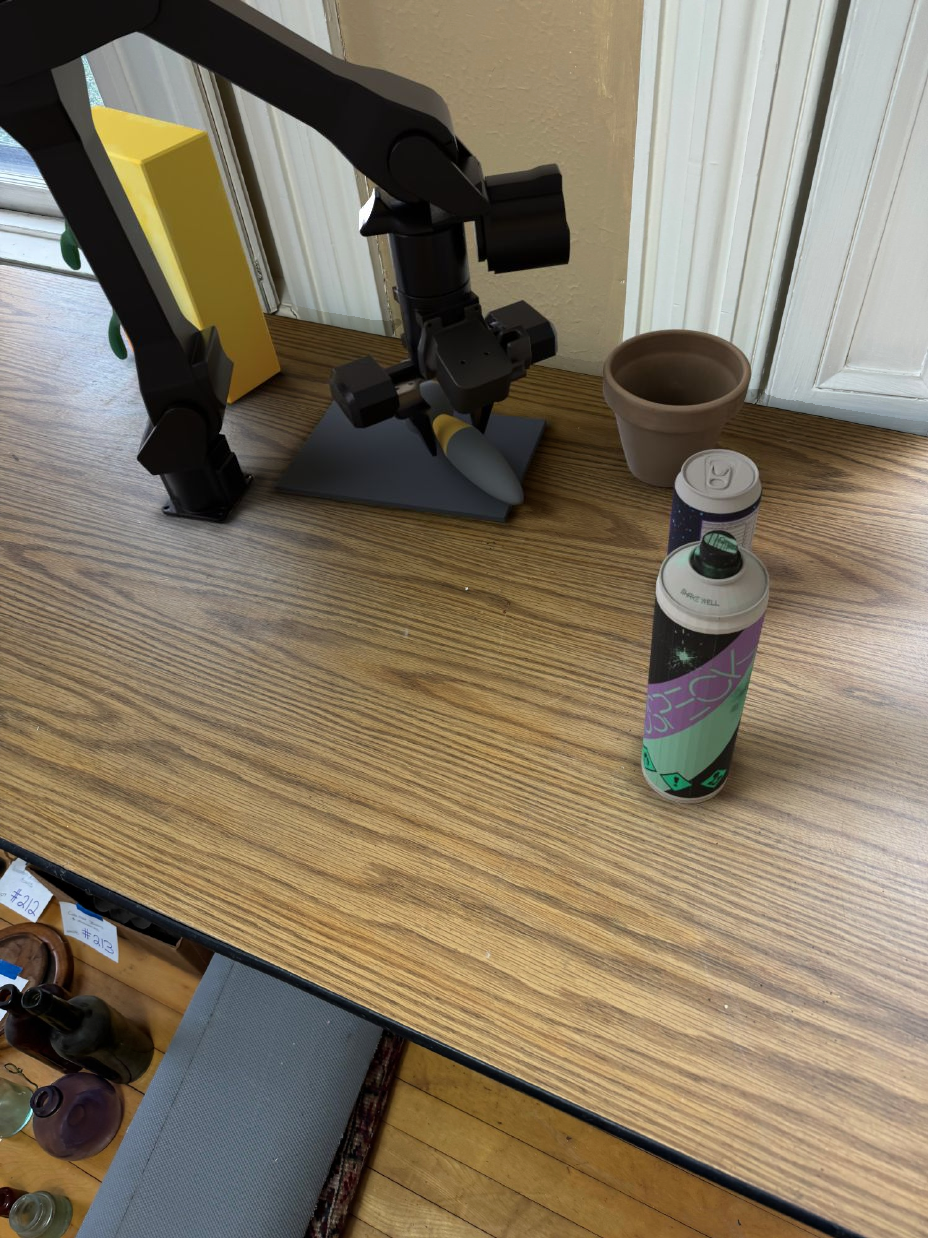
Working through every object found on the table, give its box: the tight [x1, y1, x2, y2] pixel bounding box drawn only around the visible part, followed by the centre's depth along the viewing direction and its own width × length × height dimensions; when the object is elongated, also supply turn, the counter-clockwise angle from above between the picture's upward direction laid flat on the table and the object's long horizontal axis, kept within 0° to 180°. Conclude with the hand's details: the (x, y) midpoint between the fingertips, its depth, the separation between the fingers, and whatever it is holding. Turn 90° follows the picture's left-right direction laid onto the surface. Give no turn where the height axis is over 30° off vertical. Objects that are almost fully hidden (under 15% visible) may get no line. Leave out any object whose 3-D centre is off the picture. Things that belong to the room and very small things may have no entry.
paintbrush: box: [403, 380, 525, 506], centre depth 76 cm, size 20×5×5 cm, turn 37°
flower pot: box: [602, 328, 752, 488], centre depth 71 cm, size 12×11×10 cm
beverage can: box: [666, 448, 763, 557], centre depth 60 cm, size 6×6×12 cm
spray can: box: [640, 530, 771, 805], centre depth 48 cm, size 6×6×20 cm
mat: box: [274, 399, 548, 524], centre depth 80 cm, size 22×14×1 cm, turn 72°
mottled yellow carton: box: [59, 104, 281, 404], centre depth 85 cm, size 18×12×24 cm
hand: (455, 444), depth 77 cm, fingers closed on paintbrush, 4 cm apart
